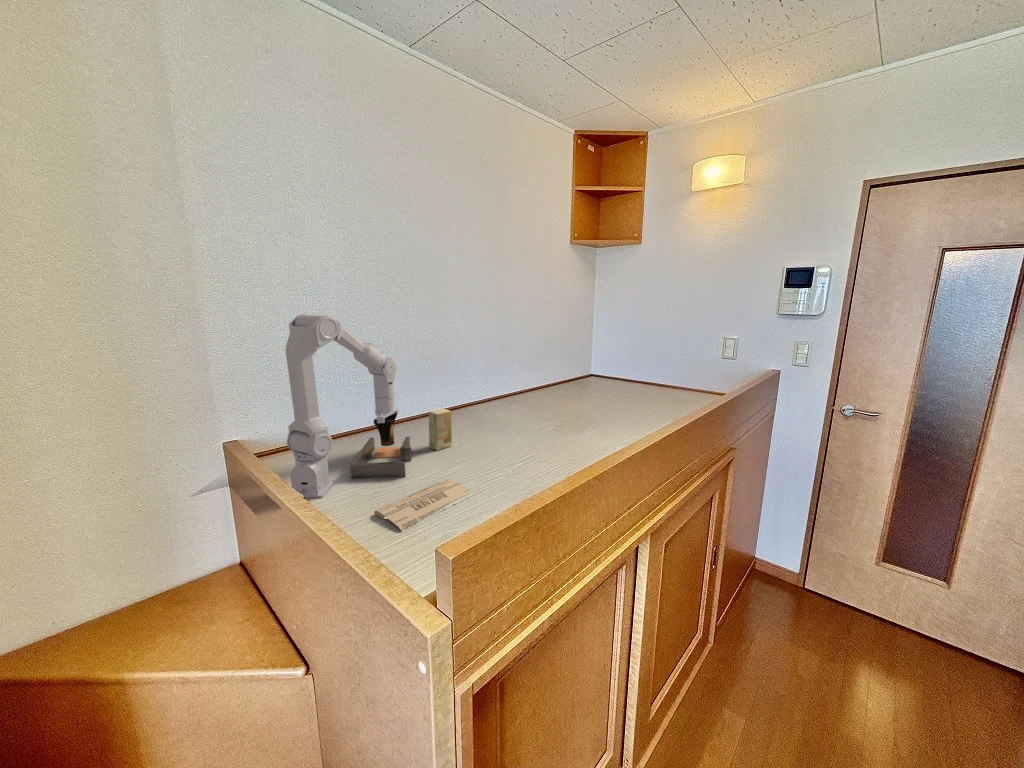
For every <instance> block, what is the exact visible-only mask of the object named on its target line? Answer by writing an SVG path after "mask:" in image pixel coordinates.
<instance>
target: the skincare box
mask: <svg viewBox="0 0 1024 768" xmlns="http://www.w3.org/2000/svg"><path fill="white" fill-rule="evenodd" d="M452 438H453V437H452V410H449V409H446V408H441V409H436V410H432V411H431V410H430V411H428V439H429V440H428V441H429V442H428V443H429V444H428V445H429V447H428V448H430V449H433V450H435V451H440V449H441V450H444V449H446V447H447V448H449V446H450V447H452V446H451V445H453V444H452V442H453V441H452ZM443 448H444V449H443Z"/></svg>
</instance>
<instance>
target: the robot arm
mask: <svg viewBox="0 0 1024 768" xmlns="http://www.w3.org/2000/svg"><path fill="white" fill-rule="evenodd" d="M288 329H289V335H288V337H287V342H286V346H285V355H286V357H285V358H286V363H287V370H288V372H287V373H288V378H289V385H290V395H291V400H292V409H293V415H294V421H292V422H291V423H290V424H289V425H288V435H287V437H286V438H287V439H286V446H287V448H288V449H289V450H291V451H292V455H293V457H294V461H295V463H294V464H295V465H294V466H293V469H292V470H291V472H290V479H291V480H290V481H291V489H292V488H294V489H295V490H296V491H297V492H299V493H300V494H302V495H303V496H304V497H305V498H306V499H308V498H309V499H310V498H314V499H315V498H323V497H324V496H325V495H326V494H327V492H328V491H329V490H330V489H331V487H332V486H333V485H334V483H335V481H336V479H335V478H330V474H329V473H330V472H329V463H328V456H329V453H330V452H331V450H332V448H333V447H332V446H333V438H332V436H331V434H330V433H329V430H328V425H327V424H326V423H325V422H324V421H323V420H322V419H321V417H320V409H319V400H318V392H317V384H316V382H317V381H316V375H315V368H314V367H315V366H314V359H313V355H315V353H316V352H317V351H318V350H319V349H321V348H322V347H324V346H326V345H327V344H329V343H330V342H332V341H334V342H335V343H337V344H338V345H341V346H342V347H344V348H345V349H346V350H348V351H350V352H351V353H353V357H354V359H355V360H356V361H357V362H358V363H360V364H361V365H362V366H364V367H366V368H367V371H368V372H369V374H370V375H373V377H372V378H373V392H374V406H375V407H374V409H375V410H374V413H375V416H376V418H374V419H373V424H374V426H376V427H375V428H377V431H378V435H379V437H381V439H380V441H381V440H382V442H386V441H389V440H390V431H391V426H392V424H393V429H394V427H395V423H396V420H397V416H398V413H399V412H400V409H399V408H396V403H395V402H396V401H395V398H396V397H395V387H394V386H395V385H394V384H395V383H394V382H395V380H396V374H397V371H398V365H397V363H396V362H395V360H394V359H393V358H392V357H388V356H385V355H384V353H383V352H382V351H379V350H377V349H376V348H375V347H374V344H373V343H371V342H361V341H360V340H358V339H357V338H356V337H354V336H355V335H352V334H351V333H350V332H349V331H348V330H347V329H346V328H344V327H343V326H342V322H340V321H339V320H338V319H337V320H336V319H335V318H334V317H333V316H332V315H327V314H326V315H324V314H323V315H313V314H311V315H310V314H303V313H302V314H298V315H296V316H295V318H293V319H292V320H291V321H290V322H289V324H288ZM305 498H304V499H305Z"/></svg>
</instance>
